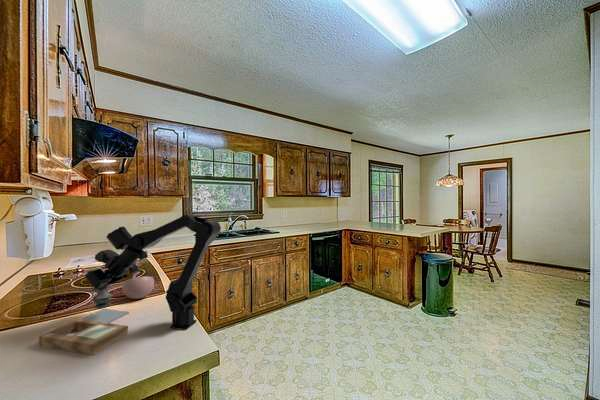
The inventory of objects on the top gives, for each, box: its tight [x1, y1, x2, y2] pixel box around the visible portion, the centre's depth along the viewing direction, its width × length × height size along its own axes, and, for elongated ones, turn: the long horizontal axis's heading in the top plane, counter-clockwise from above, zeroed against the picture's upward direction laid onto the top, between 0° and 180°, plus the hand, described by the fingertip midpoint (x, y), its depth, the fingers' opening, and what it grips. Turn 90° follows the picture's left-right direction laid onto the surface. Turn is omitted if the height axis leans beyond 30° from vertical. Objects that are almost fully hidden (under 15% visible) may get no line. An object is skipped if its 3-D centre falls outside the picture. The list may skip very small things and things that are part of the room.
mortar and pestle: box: [122, 271, 155, 300], centre depth 117 cm, size 12×12×12 cm
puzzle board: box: [38, 318, 129, 356], centre depth 82 cm, size 20×12×3 cm, turn 78°
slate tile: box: [80, 308, 130, 324], centre depth 97 cm, size 12×12×1 cm
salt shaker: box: [92, 285, 113, 310], centre depth 97 cm, size 6×6×12 cm
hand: (99, 287), depth 97 cm, fingers closed on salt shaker, 4 cm apart
